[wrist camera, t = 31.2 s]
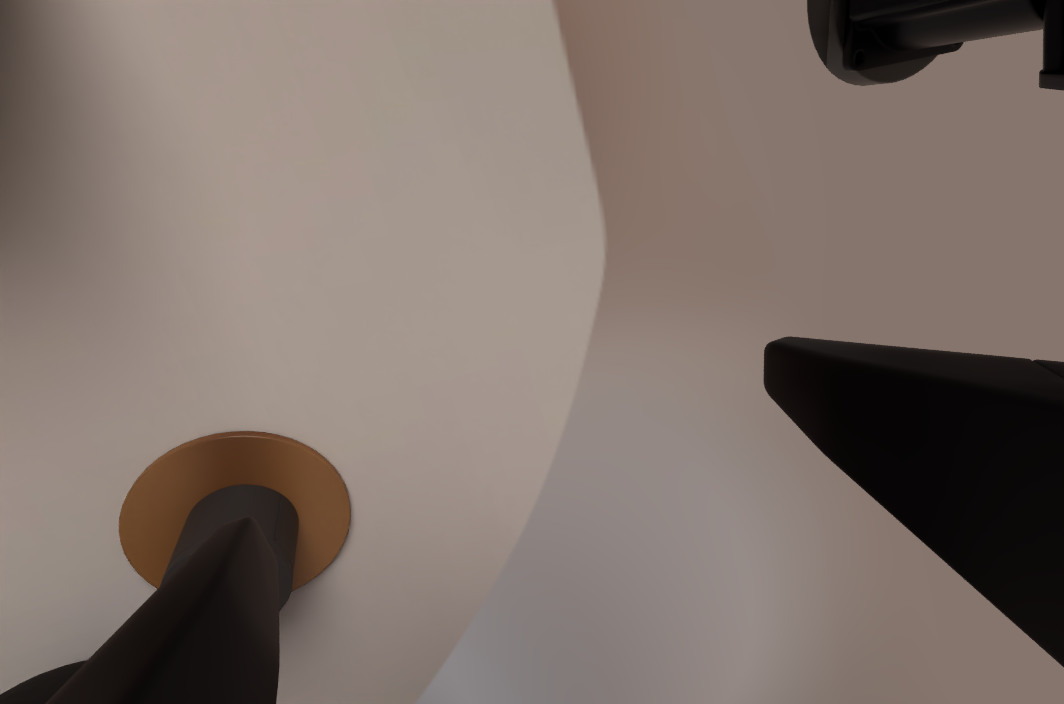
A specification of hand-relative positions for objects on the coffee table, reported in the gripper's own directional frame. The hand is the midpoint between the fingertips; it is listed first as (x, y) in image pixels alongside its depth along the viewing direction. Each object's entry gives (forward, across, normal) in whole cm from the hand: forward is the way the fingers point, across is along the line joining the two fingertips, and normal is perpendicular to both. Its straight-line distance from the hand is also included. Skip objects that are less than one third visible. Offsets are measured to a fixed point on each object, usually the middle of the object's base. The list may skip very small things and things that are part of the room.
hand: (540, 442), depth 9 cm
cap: (+12, +10, +8) cm, 17 cm away
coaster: (+12, +10, +8) cm, 18 cm away
